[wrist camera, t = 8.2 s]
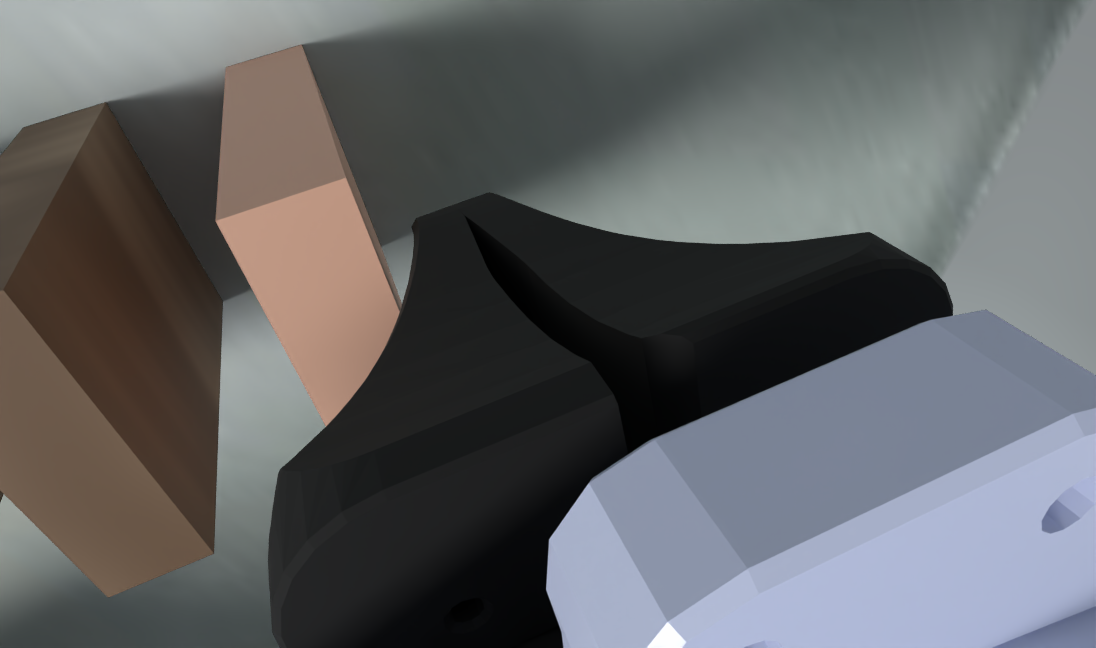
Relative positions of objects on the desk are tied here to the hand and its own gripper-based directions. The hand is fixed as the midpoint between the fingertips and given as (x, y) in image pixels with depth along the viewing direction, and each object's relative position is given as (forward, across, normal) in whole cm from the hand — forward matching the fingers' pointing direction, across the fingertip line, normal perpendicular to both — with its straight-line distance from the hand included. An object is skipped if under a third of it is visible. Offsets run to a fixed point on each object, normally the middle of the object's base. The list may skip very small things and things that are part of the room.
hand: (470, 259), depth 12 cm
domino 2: (+7, +2, 0) cm, 7 cm away
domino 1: (+7, +6, 0) cm, 9 cm away
